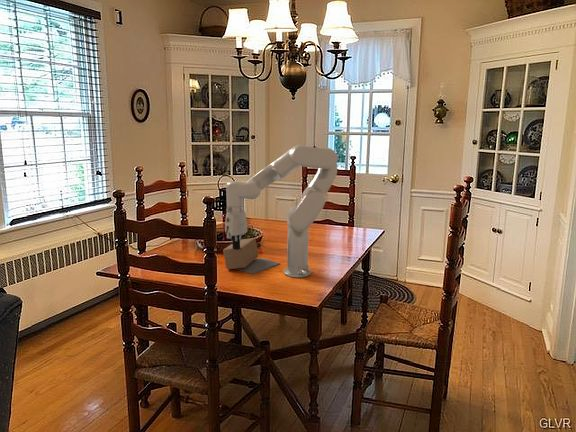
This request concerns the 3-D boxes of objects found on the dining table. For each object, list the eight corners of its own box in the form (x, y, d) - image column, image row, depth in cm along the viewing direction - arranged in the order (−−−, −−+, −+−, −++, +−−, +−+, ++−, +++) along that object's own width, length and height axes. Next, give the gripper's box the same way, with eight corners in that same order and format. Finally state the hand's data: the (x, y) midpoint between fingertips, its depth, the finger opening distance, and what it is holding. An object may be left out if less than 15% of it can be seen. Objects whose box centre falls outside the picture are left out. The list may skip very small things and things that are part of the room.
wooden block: (241, 247, 209) (255, 237, 228) (221, 249, 212) (237, 239, 231) (245, 268, 210) (259, 256, 229) (225, 270, 213) (241, 258, 232)
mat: (253, 274, 209) (253, 273, 209) (233, 268, 217) (233, 267, 216) (279, 264, 223) (279, 262, 223) (259, 258, 231) (259, 257, 231)
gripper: (229, 213, 194) (230, 254, 198) (252, 207, 206) (253, 246, 210) (217, 211, 199) (218, 251, 203) (240, 205, 210) (241, 244, 214)
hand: (236, 248), depth 206 cm, fingers closed
